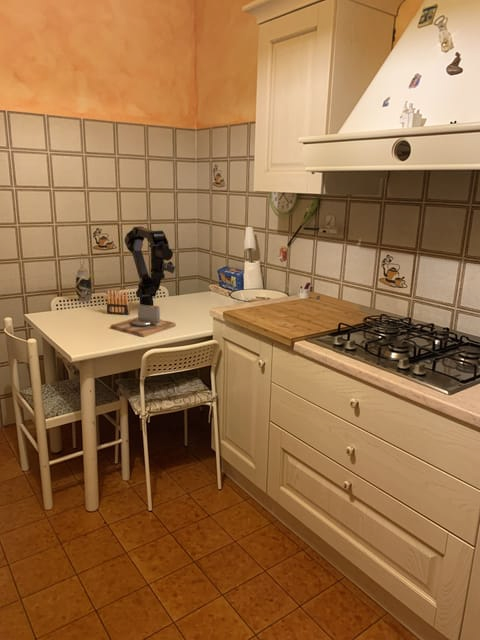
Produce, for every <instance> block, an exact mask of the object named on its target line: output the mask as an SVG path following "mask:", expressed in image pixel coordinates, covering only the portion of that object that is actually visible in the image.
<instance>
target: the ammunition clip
mask: <svg viewBox="0 0 480 640" xmlns="http://www.w3.org/2000/svg"><path fill="white" fill-rule="evenodd" d="M106 292H107V293H106V294H107V296H106V303H107V304H106V314H107V315H116V316H117V315H118V316H129V315H130V305H129V297H128V296H129V295H128V291H127V290H125V291H124V290H118V291H117V290H116V289H115V290H114V291H113V289H111V290H110V289H107V291H106Z"/></svg>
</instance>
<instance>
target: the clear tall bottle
mask: <svg viewBox="0 0 480 640" xmlns="http://www.w3.org/2000/svg"><path fill="white" fill-rule="evenodd" d="M81 255H82V256H81ZM81 257H82V258H83V259H85V258H84V257H85V256H84V255H83V253H80V255H79V258H81ZM79 264H80V268H79V269H77V275H75V276H76V278H75V290H76V291H75V292H76V295H77V298H78V297H79V301H78V302H90V301H91V300H92V296H93V295H92V293H93V291H92V281H91V280H92V275H91V274H89V272H88V271H89V269H87V268H86V267H85V266H84V264H85V261H83V264H82V263H81V261H79Z"/></svg>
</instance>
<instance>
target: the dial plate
mask: <svg viewBox="0 0 480 640" xmlns="http://www.w3.org/2000/svg"><path fill="white" fill-rule="evenodd" d="M136 318H138V316H137V317H133V318H130V319H127V320H123V321H120V322H116V323H112V324H111V325H110V329H112V330H116V331H119V332H123V333H128V334H129V335H134V336H137V337H141V338H146V337H148V336H151V335H153V334H154V335H155V334H157V333H160V332H163V331H166V330H168V329H171V328H175V327H176V325H177V323H176V322H172V321H169V320H164V319H161V318H160V323H158V324H156V323H155V324H153V325H151V326H134V325H132V320H133V319H136Z"/></svg>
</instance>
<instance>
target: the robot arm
mask: <svg viewBox="0 0 480 640" xmlns="http://www.w3.org/2000/svg"><path fill="white" fill-rule="evenodd" d="M166 236H167V235H166V233H165V232H164V231H163V230H152V229H150V228H146V227H144V226H134V227H132V229H131V230H129V232H127V233H126V235H125V237H124V241H123V242H124V244H125V246H126V249H127V250H128V251H129V252H131V254H132V257H133V262H134V265H135V267H136V270H137V275H138V278H139V281H138V284H137V286H138V288H137V290H136V292H135V296H136V297H137V298H138V299H139V304H143V305H149V306H154V298H153V297H156V295H157V291H159V290H160V286H161V282H162V280H164V279H165V274H166V273H165V271H166V272H169V273H171V274H174V273H175V270H176V265H174V264H173V262H172V261H170V260H171V259H172V258H173V256H174V252H173V250H172V249H171V248H170V245H169V241H168V239H167V237H166ZM145 239H146V240H147V242H149V245H148V247H149V248H150V274H149V271H148V268H147V264H146V261H145V257H144V254H143V252H142V248H143V245H144V243H143V242H144V241H145ZM165 261H166V262H165ZM167 261H168V262H167Z"/></svg>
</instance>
